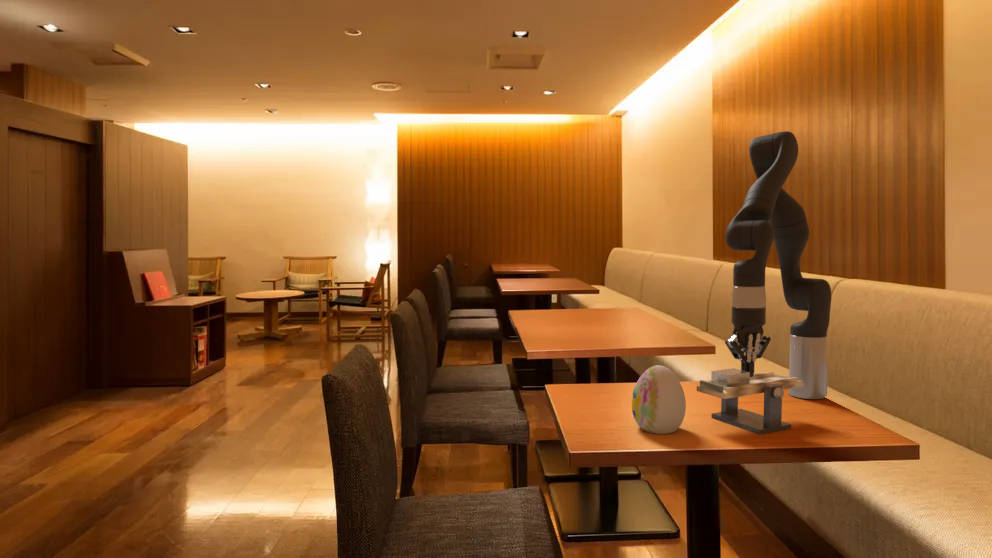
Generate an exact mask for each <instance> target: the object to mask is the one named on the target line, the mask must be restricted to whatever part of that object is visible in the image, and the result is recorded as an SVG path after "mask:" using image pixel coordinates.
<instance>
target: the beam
mask: <svg viewBox="0 0 992 558" xmlns="http://www.w3.org/2000/svg"><path fill="white" fill-rule="evenodd" d="M772 384H779V385H782V389H783V390H789V388H795V387H801V386H804V381H801V380H798V377H793V378H789V377H787V376H783V375H779V374H775V372H774V371H767V372H759V373H754V375H753V377H750V384H747V385H741V386H734V387H728V388H726V390H725V389H723V386H721V385H718V384H714V383H711V380H704V379H702V380H699V385H696V392H700V393H702V394H707V395H709V396H711V397H716V398H719V399H721V398H722V399H728V398H734V397H738V398H739V397H745V396H752V395H759V394H764V386H765V385H772Z"/></svg>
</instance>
